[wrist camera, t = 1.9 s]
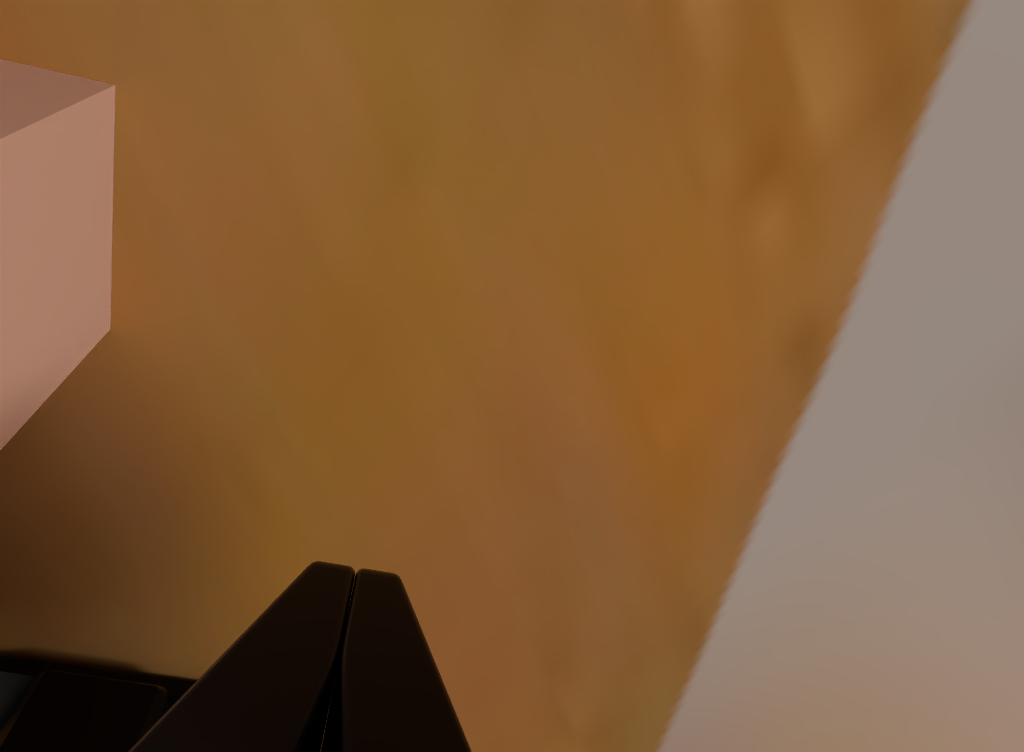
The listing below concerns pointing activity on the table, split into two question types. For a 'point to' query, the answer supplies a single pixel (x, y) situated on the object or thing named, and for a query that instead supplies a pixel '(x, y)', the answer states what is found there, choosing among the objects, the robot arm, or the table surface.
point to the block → (51, 231)
